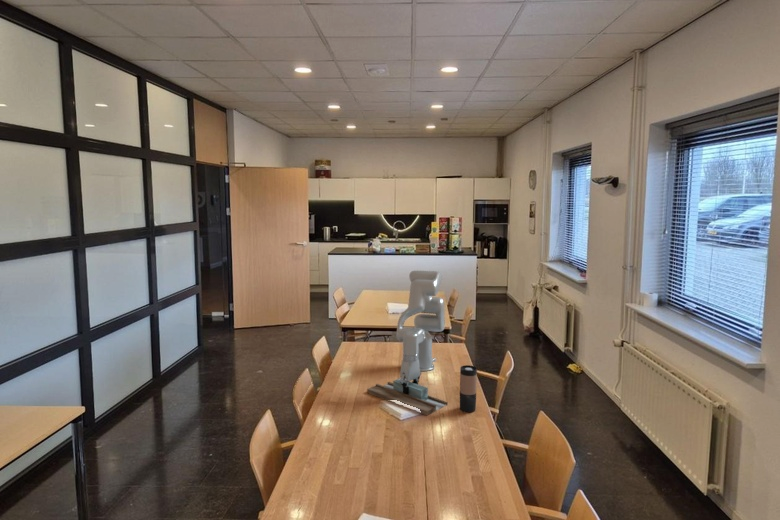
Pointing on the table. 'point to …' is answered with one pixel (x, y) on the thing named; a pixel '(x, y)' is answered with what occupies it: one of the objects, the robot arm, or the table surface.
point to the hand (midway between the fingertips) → (410, 391)
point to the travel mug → (468, 388)
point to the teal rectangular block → (412, 389)
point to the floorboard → (407, 398)
